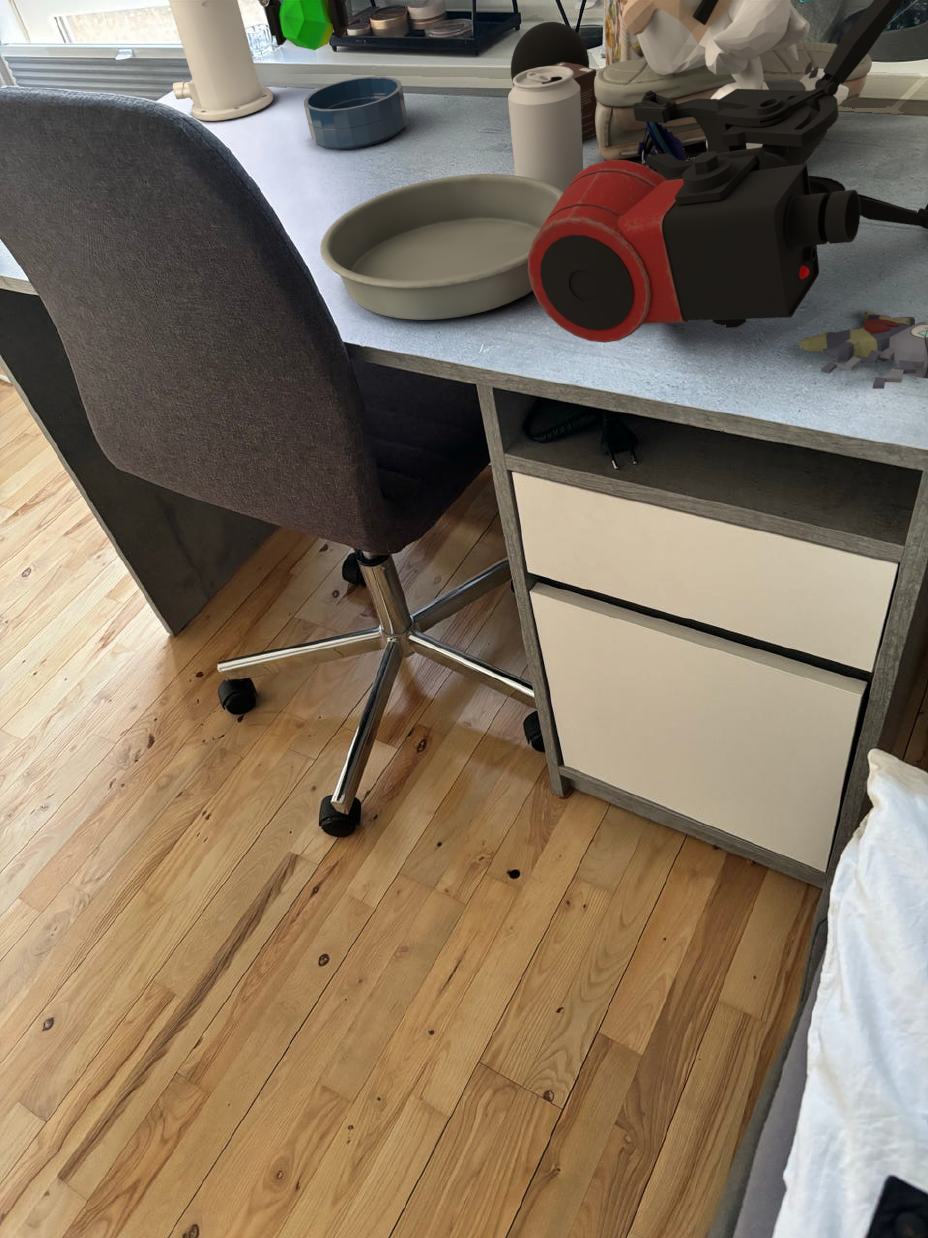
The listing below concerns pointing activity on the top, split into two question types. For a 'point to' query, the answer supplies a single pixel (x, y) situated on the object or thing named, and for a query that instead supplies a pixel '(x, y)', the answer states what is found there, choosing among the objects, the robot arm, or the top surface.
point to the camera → (708, 213)
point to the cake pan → (441, 245)
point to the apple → (306, 22)
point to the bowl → (356, 112)
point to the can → (546, 125)
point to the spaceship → (660, 144)
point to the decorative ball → (548, 48)
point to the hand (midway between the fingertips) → (311, 36)
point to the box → (585, 96)
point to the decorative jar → (619, 35)
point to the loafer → (690, 93)
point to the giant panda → (787, 88)
